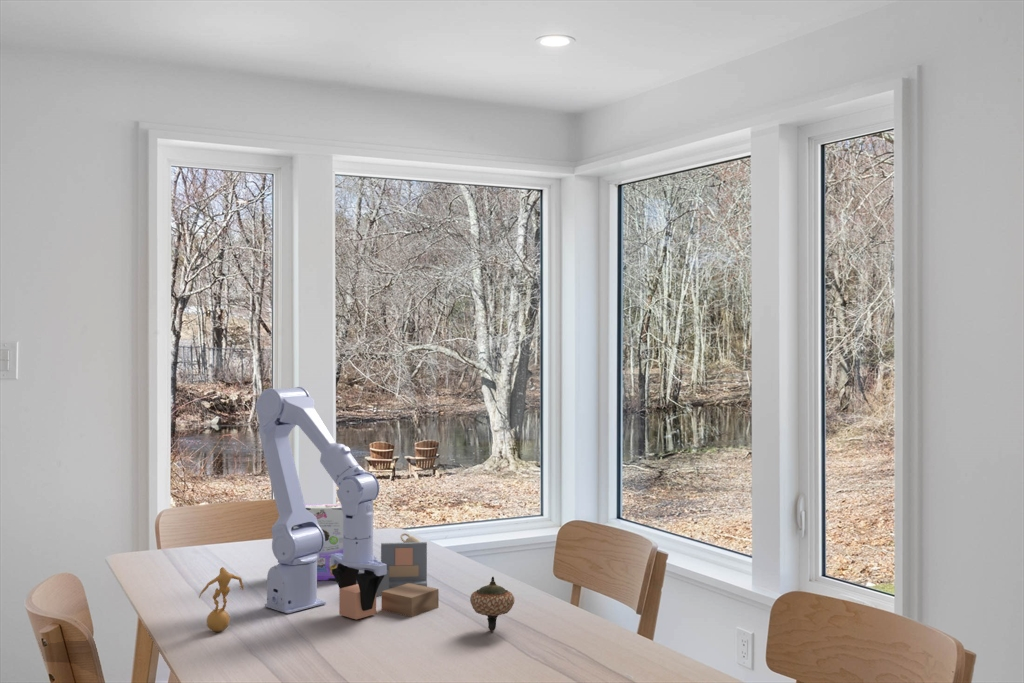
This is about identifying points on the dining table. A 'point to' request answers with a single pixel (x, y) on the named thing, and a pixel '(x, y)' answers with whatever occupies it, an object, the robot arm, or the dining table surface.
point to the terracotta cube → (353, 603)
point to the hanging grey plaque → (405, 563)
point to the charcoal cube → (383, 585)
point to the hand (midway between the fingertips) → (357, 606)
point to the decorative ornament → (409, 538)
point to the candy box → (328, 536)
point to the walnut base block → (410, 599)
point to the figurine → (218, 616)
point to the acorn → (492, 602)
